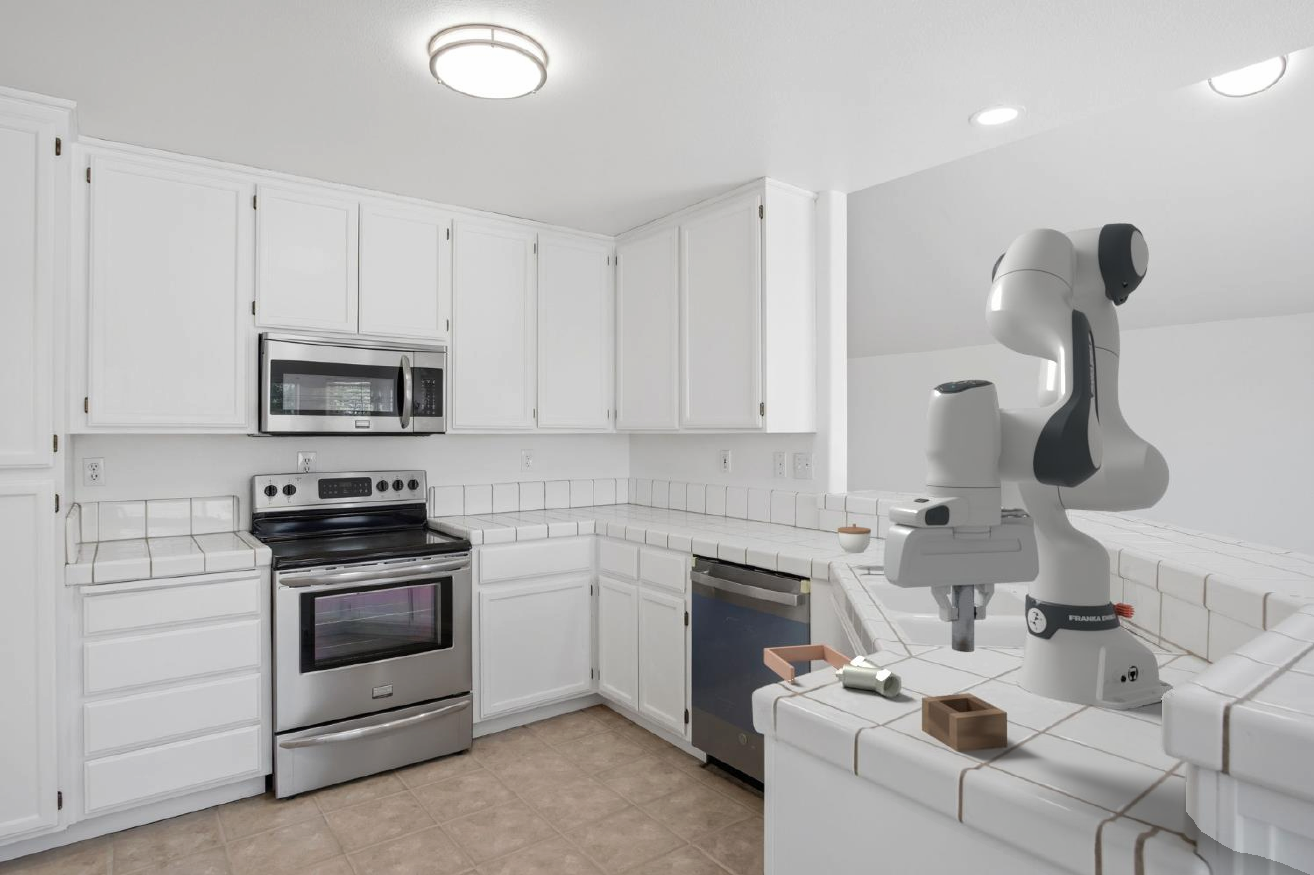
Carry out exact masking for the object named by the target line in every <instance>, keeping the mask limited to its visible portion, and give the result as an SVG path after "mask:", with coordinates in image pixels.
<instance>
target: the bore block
mask: <svg viewBox="0 0 1314 875" xmlns="http://www.w3.org/2000/svg"><path fill="white" fill-rule="evenodd" d="M921 731H922V732H924V733H925V734H927V735H929V736H931V737H933V739H936V740H937V741H939V742H941V743H942V744H944V746H945V745H946V746H947V747H949V748H950V749H952V750H954V751H955V752H966V751H967V752H968V751H979V750H981V751H982V750H991V749H1005V748H1008V712H1006V711H1005V710H1003V709H1001V708H999V707H997V706H995V705H993V704H991V703H989V702H988V701H985V700H984V699H981V698H980V697H977V696H975V695H974V694H972V693H969V692H966V693H959V694H949V695H948V694H946V695H937V696H927V697H926V696H925V697H922V698H921Z"/></svg>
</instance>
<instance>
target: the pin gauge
mask: <svg viewBox="0 0 1314 875" xmlns="http://www.w3.org/2000/svg"><path fill="white" fill-rule="evenodd" d="M974 597H975V589H974V585H953V586H951V605H952V606H954V607H957V608H958V614H957V616H958V620H957V621H952V622H951V649H952V650H953V651H957V652H960V653H972V652H975V620H974Z"/></svg>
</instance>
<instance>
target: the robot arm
mask: <svg viewBox="0 0 1314 875" xmlns="http://www.w3.org/2000/svg"><path fill="white" fill-rule="evenodd" d="M1149 257H1150V253H1149V247H1148V244H1147V242H1146V239H1145V238H1144V235H1143V233H1142V231H1141V230H1140V229H1139V228H1138V227H1136V226H1135V225H1134V224H1132V223H1124V222H1123V223H1120V222H1119V223H1108V224H1104V226H1099V227H1092V228H1091V227H1090V228H1085V229H1079V230H1073V231H1069V232H1065V233H1063V232H1061V231H1059V230H1056V229H1052V228H1035V229H1031V230H1028V231H1026V232H1023V233H1021V234H1020V235H1019V236H1017V237H1016V238H1015V239H1014V240H1013V241H1012V242H1011V244H1010V245H1009V247H1008V249H1007V250H1006V252H1004V253H1002V254H1001V255H1000V256H999V257H998V259H997V260H996V262H995V263H994V265H993V268H992V270H991V271H992V272H991V287H990V289H989V293H988V297H987V300H986V305H985V314H984V316H985V317H984V318H985V322H986V323H985V324H986V327H987V329H988V331H989V333H990V334H991V335H992V336H993V337H994V339H995V340H996V341H997V342H999V343H1000V344H1001V345H1003V346H1004V347H1005V348H1007V349H1010V350H1011V351H1013V352H1015V353H1018V354H1021V355H1026V356H1033V357H1038V358H1040V364H1039V371H1038V380H1037V391H1036V401H1037V404H1038V406H1039V407H1029V408H1026V407H1022V408H1001V407H1000V406H999V399H998V398H999V397H998V392H997V388H996V385H995V383H994V382H992V381H989V380H986V379H985V380H984V379H969V380H967V379H966V380H958V381H950V382H945V383H941V384H938V385H937V386H936V387H934V388H932V389H931V392H930V395H929V399H928V405H927V410H926V420H925V436H924V451H925V455H926V458H927V464H928V466H927V475H926V477H925V481H924V484H925V485H924V493H923V492H922V493H921V494H918V495H916V496H914V497H912V498H909V499H906V500H903V501H900V502H898V503H895V504H893V505H891V506H890V507H889V509H888V519H889V521H890V522H892V523H894V524H893V525H891V526H890V527H889V529H888V530H887V532H886V536H885V541H884V546H883V547H884V548H883V549H884V550H883V575H884V577H885V579H886V580H887V582H888V583H889V584H891V585H894V586H896V587H899V588H903V589H911V588H927V587H928V588H929V587H930V593H931V595H932V596H933V598H934V600H935V602H936V603H937V605H938V608H939V609H938V611H939V612H938V617H939V620H941V621H943V622H945V623H952V621H957V620H958V616H957V614H958V608H957V607H954V606H952V602H951V601H950V600H949V596H948V595H952V586H953V585H974V590H975V591H976V593H975V594H974V621H981V620H982V621H983V620H986V618H987V606H988V605H989V602H990V601H991V599H992V597H993V596H994V594H995V584H1011V583H1013V584H1014V583H1028V584H1027V586H1028V592H1027V594H1025V601H1024V607H1025V608H1024V616H1025V620H1026V621H1025V622H1026V625H1027V626H1026V628H1027V630H1026V635H1025V641H1024V642H1025V643H1024V649H1023V657H1022V663H1021V665H1020V671H1019V673H1018V674H1019V675H1018V677H1017V679H1016V680H1017V681H1016V682H1017V685H1018V686H1019V687H1020V688H1021V689H1023V690H1024V691H1027V692H1028V693H1031V694H1034V696H1035V695H1036V696H1038V697H1042V698H1045V699H1050V700H1054V701H1059V702H1063V703H1064V702H1065V703H1070V704H1078V705H1084V706H1085V705H1087V706H1093V707H1098V708H1103V709H1107V710H1114V711H1124V710H1125V709H1126V710H1128V709H1127V708H1131V709H1134V708H1133V707H1136V708H1139V707H1144V706H1147V705H1152V704H1157V703H1160V702H1162V701H1161V698H1162V696H1163V694H1164V693H1166V692H1167V691H1169V690H1171V689H1173V687H1174V685H1171V684H1169V683H1168V682H1166V681H1163V680H1162V679H1160V672H1159V664H1158V661H1157V657H1156V655H1155V654H1154V652H1153V651H1152V650H1151V649H1150V648H1149V647H1147V646H1146V645H1145V644H1143V643H1142V642H1141V641H1139V640H1138V639H1137V638H1135V637H1134V636H1133V635H1132V634H1130V633H1129V632H1128V631H1127V630H1125V628H1123V627H1122V626H1121V621H1120V618H1119V617H1122V618H1126V619H1132V618H1133V617H1134V615H1135V612H1136V611H1135V608H1133V606H1132V605H1129V604H1124V603H1122V602H1118V603H1116V604H1114V603H1113V602H1112V601H1111V561H1110V560H1111V558H1110V556H1109V553H1108V552H1109V551H1108V550H1107V549H1106V547H1104V545H1103V544H1102V543H1101V542H1099V540H1097V539H1095V538H1094V537H1091V536H1090V535H1089V534H1087V533H1084V532H1082V531H1080V530H1079V529H1076V527H1074V526H1073V524H1071V522H1070V520H1069V518H1068V517H1067V516H1068V515H1067V511H1068V510H1072V511H1073V510H1076V511H1077V510H1078V511H1090V512H1091V511H1093V512H1108V513H1109V512H1110V513H1113V512H1114V513H1119V512H1128V511H1129V512H1130V511H1137V510H1146V509H1151V508H1152V507H1154V506H1156V504H1158V503H1159V501H1160V500H1162V498H1163V497H1164V495H1165V494H1166V492H1167V489H1168V486H1169V483H1170V470H1169V466H1168V463H1167V461H1166V459H1165V457H1164V455H1163V454H1162V453H1161V451H1160V450H1159V449H1158V448H1157V447H1156V446H1154V445H1152V444H1151V443H1150V442H1148V441H1146V440H1145V439H1143V438H1142V437H1141V436H1139V435H1138V434H1137V433H1136V432H1135V431H1134V430H1133V429H1132V428H1131V426H1129V425H1128V423H1127V421H1126V419H1125V418H1124V416H1123V414H1122V412H1121V408H1120V403H1119V368H1120V354H1121V340H1120V339H1121V337H1120V325H1119V319H1118V314H1117V313H1118V312H1117V309H1116V308H1115V306H1116V307H1119V306H1122V305H1123V304H1125V303H1126V302H1127V301H1128V299H1129V296H1130V295H1131V294H1132V293H1133V292H1135V290H1137V288H1139V286H1140V285H1141V283H1142V282H1143V280H1144V278H1145V276H1146V274H1147V271H1148V264H1149V260H1150V258H1149ZM1156 701H1157V702H1156ZM1143 705H1144V706H1143Z"/></svg>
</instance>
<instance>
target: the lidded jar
mask: <svg viewBox="0 0 1314 875" xmlns="http://www.w3.org/2000/svg"><path fill="white" fill-rule="evenodd" d="M837 532H838V533H837V537H838V542H839V546H840V547H841V548H842V549H843V550H844V552H845V553H849V554H850V553H851V554H863V553H864V552H865V551H866V549H868V547H869V545H870V542H871V532H872V530H871V528H868V527H861V526H857V523H852V526H841V527H838V528H837Z"/></svg>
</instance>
